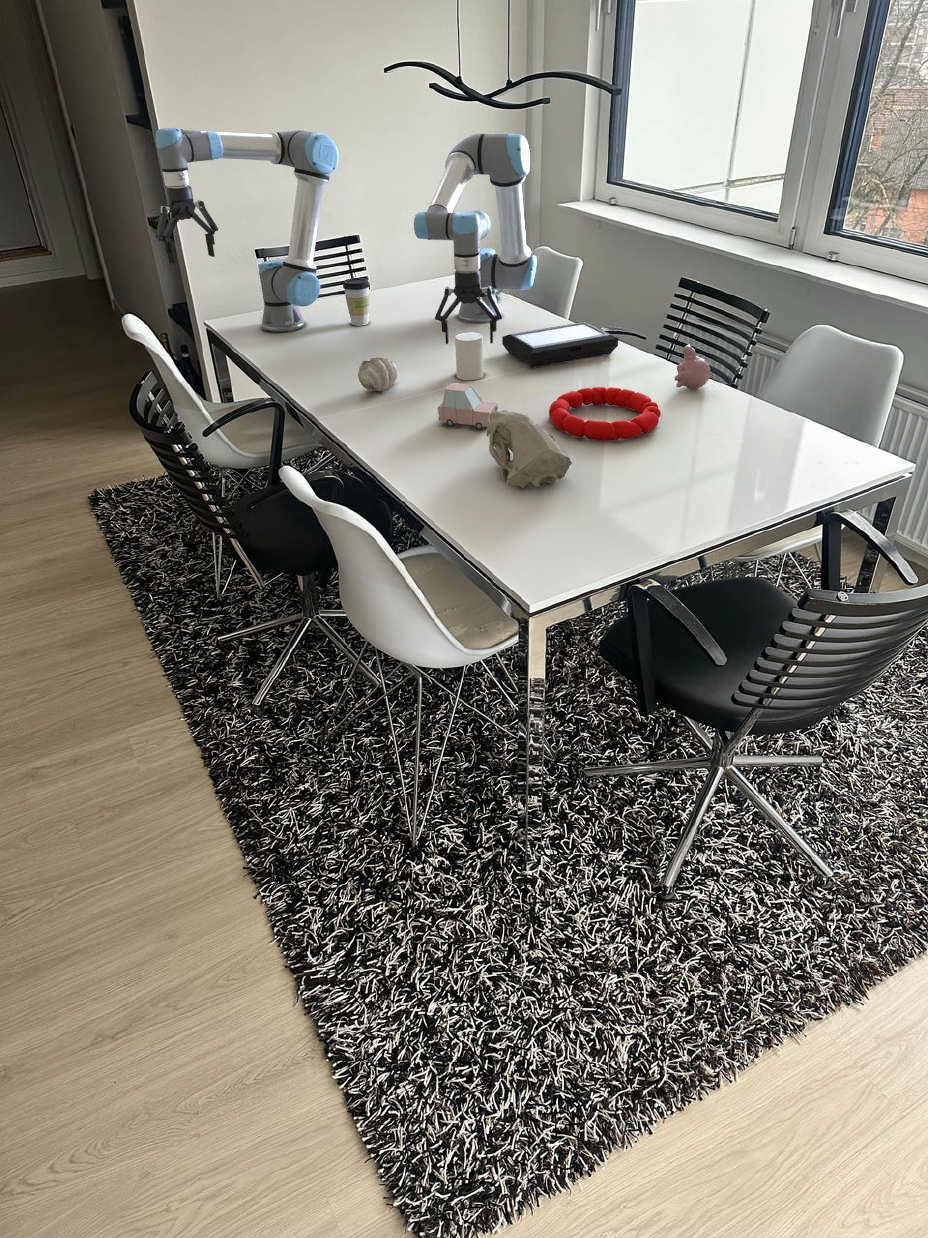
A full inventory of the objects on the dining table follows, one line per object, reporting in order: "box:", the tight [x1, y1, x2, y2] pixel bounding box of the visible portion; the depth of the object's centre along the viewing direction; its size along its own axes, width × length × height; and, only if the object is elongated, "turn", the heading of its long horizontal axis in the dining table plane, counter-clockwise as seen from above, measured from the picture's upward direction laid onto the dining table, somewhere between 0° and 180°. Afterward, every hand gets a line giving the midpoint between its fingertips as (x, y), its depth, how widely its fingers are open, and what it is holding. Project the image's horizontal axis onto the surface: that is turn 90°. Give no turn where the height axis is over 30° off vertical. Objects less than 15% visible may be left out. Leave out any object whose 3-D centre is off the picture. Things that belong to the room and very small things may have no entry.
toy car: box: [437, 382, 499, 431], centre depth 243 cm, size 9×15×10 cm, turn 70°
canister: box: [454, 331, 484, 381], centre depth 274 cm, size 8×8×12 cm
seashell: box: [357, 357, 398, 392], centre depth 266 cm, size 10×15×10 cm
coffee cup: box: [342, 277, 371, 327], centre depth 323 cm, size 10×10×15 cm
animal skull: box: [485, 409, 573, 489], centre depth 216 cm, size 17×25×20 cm
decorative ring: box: [548, 386, 661, 442], centre depth 242 cm, size 7×30×30 cm
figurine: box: [674, 344, 711, 390], centre depth 259 cm, size 9×11×12 cm
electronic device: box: [501, 321, 619, 369], centre depth 290 cm, size 32×6×20 cm
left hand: (192, 259), depth 282 cm, fingers open, 13 cm apart
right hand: (469, 342), depth 272 cm, fingers open, 13 cm apart
